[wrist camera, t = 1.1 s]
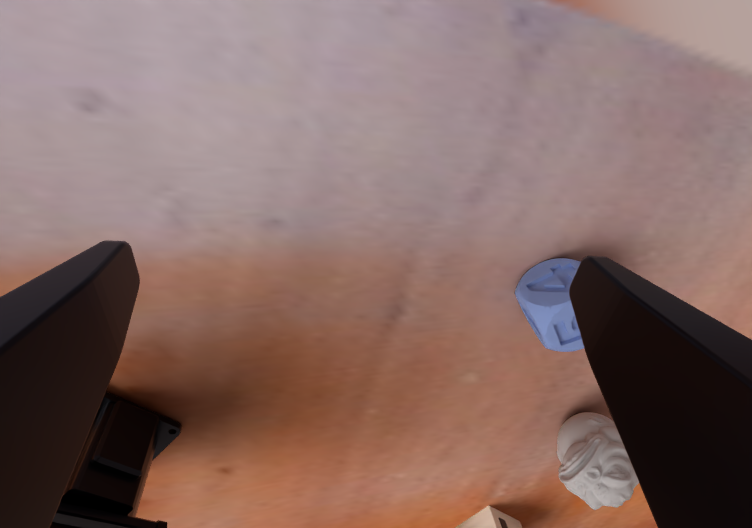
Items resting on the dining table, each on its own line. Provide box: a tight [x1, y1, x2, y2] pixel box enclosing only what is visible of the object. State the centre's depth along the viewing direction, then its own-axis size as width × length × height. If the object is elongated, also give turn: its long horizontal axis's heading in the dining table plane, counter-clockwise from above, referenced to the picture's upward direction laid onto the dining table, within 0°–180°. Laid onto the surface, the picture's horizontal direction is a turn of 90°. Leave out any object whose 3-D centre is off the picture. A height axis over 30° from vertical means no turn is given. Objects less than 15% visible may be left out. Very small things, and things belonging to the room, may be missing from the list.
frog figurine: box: [557, 412, 639, 510], centre depth 34 cm, size 6×7×7 cm
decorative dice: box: [515, 258, 584, 352], centre depth 28 cm, size 4×4×4 cm
